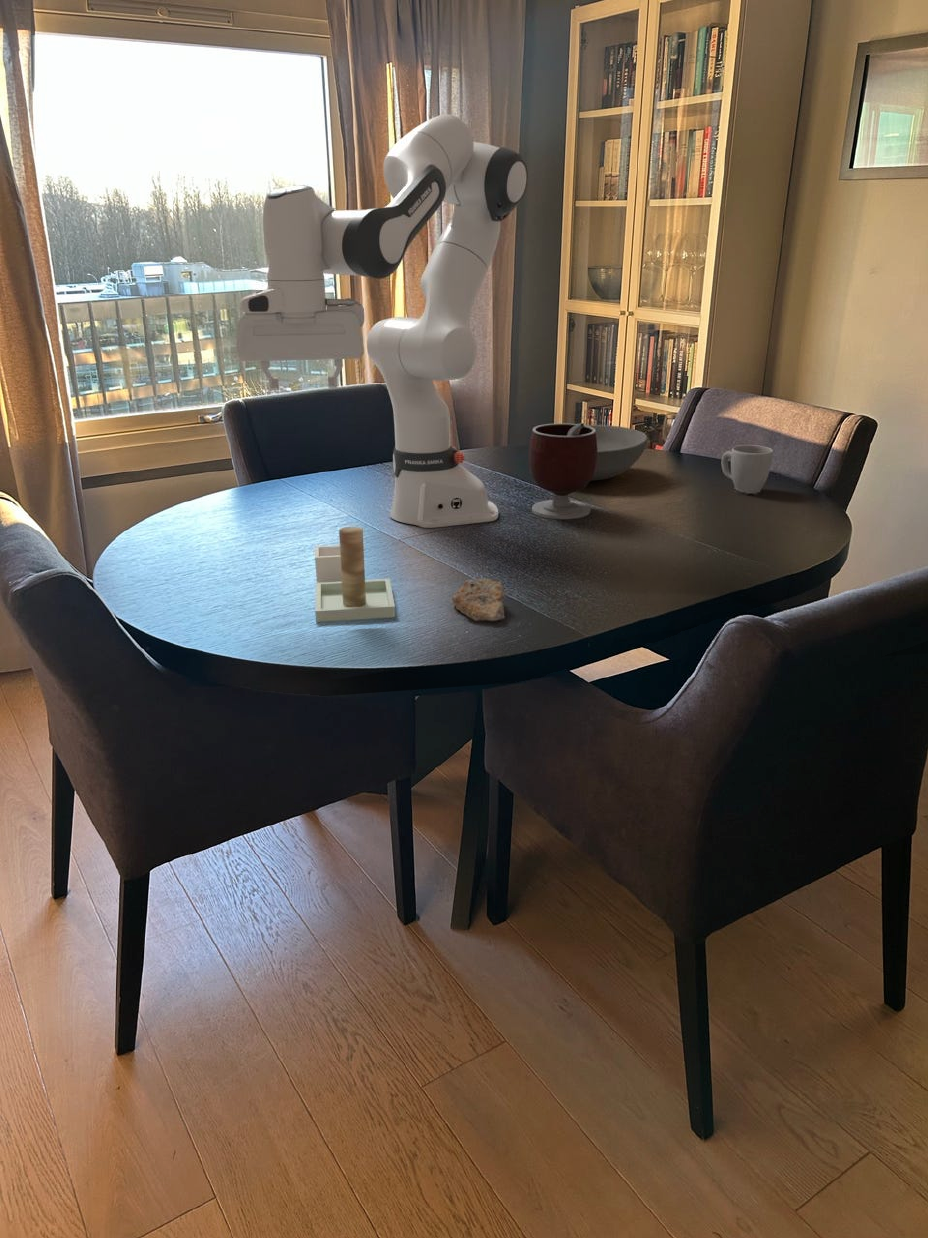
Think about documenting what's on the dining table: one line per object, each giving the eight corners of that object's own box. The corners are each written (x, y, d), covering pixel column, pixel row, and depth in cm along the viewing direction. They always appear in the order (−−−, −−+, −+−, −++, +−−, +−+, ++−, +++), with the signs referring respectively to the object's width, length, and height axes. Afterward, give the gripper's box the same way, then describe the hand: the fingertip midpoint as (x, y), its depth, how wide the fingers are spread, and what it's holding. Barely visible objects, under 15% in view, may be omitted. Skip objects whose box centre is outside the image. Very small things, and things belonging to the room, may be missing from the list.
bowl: (653, 491, 206) (657, 447, 203) (536, 491, 207) (537, 447, 203) (635, 463, 231) (637, 423, 227) (530, 463, 231) (531, 423, 227)
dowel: (365, 597, 147) (362, 526, 142) (366, 606, 143) (363, 533, 138) (342, 599, 146) (338, 527, 141) (343, 607, 143) (339, 534, 138)
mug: (776, 492, 205) (781, 449, 202) (752, 499, 200) (757, 455, 197) (731, 481, 214) (736, 440, 210) (707, 487, 209) (712, 445, 205)
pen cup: (351, 574, 158) (349, 544, 156) (352, 587, 153) (350, 555, 151) (317, 576, 158) (315, 546, 156) (317, 588, 152) (315, 557, 150)
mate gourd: (518, 504, 197) (520, 411, 189) (577, 498, 201) (581, 407, 193) (546, 525, 184) (549, 425, 176) (608, 518, 188) (614, 420, 180)
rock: (452, 600, 148) (446, 613, 139) (462, 566, 147) (456, 576, 137) (504, 615, 148) (501, 629, 138) (514, 581, 147) (512, 592, 137)
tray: (390, 591, 151) (389, 578, 150) (395, 620, 140) (394, 606, 139) (316, 595, 150) (315, 582, 149) (316, 625, 139) (315, 611, 138)
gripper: (362, 296, 149) (366, 383, 154) (234, 298, 146) (242, 386, 152) (364, 299, 143) (368, 389, 148) (230, 301, 140) (239, 393, 146)
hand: (303, 388), depth 150 cm, fingers open, 8 cm apart
